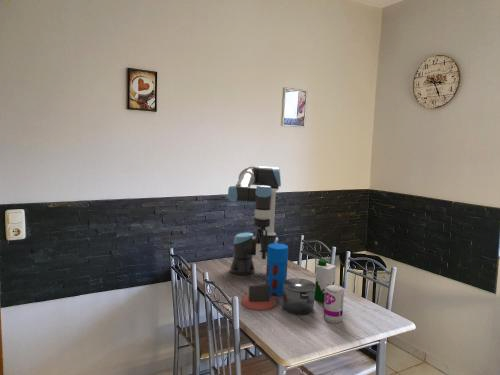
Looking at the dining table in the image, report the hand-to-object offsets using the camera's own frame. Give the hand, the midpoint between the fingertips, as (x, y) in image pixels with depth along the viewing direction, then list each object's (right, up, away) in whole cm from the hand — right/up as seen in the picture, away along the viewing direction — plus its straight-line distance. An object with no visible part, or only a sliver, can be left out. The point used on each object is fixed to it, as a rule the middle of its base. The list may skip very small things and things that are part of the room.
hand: (260, 260), depth 179 cm
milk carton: (+33, -22, +9) cm, 40 cm away
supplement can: (+32, -24, -12) cm, 42 cm away
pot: (+18, -22, -2) cm, 29 cm away
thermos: (+8, -20, +17) cm, 28 cm away
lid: (-1, -22, +3) cm, 22 cm away
